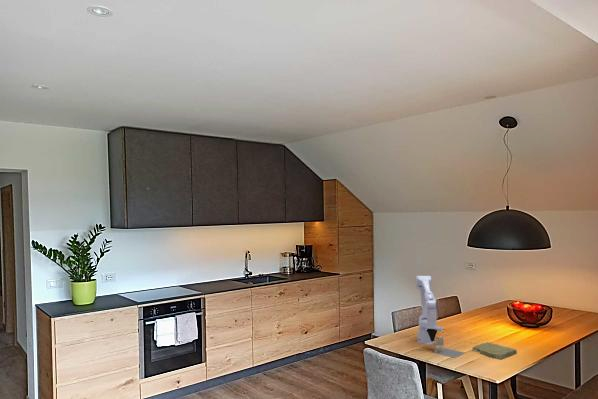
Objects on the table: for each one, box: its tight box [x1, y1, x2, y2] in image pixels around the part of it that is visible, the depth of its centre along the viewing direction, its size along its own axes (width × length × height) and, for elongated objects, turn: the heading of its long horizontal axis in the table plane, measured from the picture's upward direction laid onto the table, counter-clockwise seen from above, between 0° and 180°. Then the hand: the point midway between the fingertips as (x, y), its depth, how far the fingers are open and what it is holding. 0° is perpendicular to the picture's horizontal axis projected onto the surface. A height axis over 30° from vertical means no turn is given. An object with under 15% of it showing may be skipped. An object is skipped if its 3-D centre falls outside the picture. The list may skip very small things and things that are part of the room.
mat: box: [430, 347, 465, 359], centre depth 275 cm, size 16×13×1 cm
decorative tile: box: [471, 341, 518, 361], centre depth 274 cm, size 19×20×4 cm
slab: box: [433, 336, 445, 353], centre depth 279 cm, size 2×7×8 cm, turn 134°
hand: (432, 341), depth 282 cm, fingers closed
